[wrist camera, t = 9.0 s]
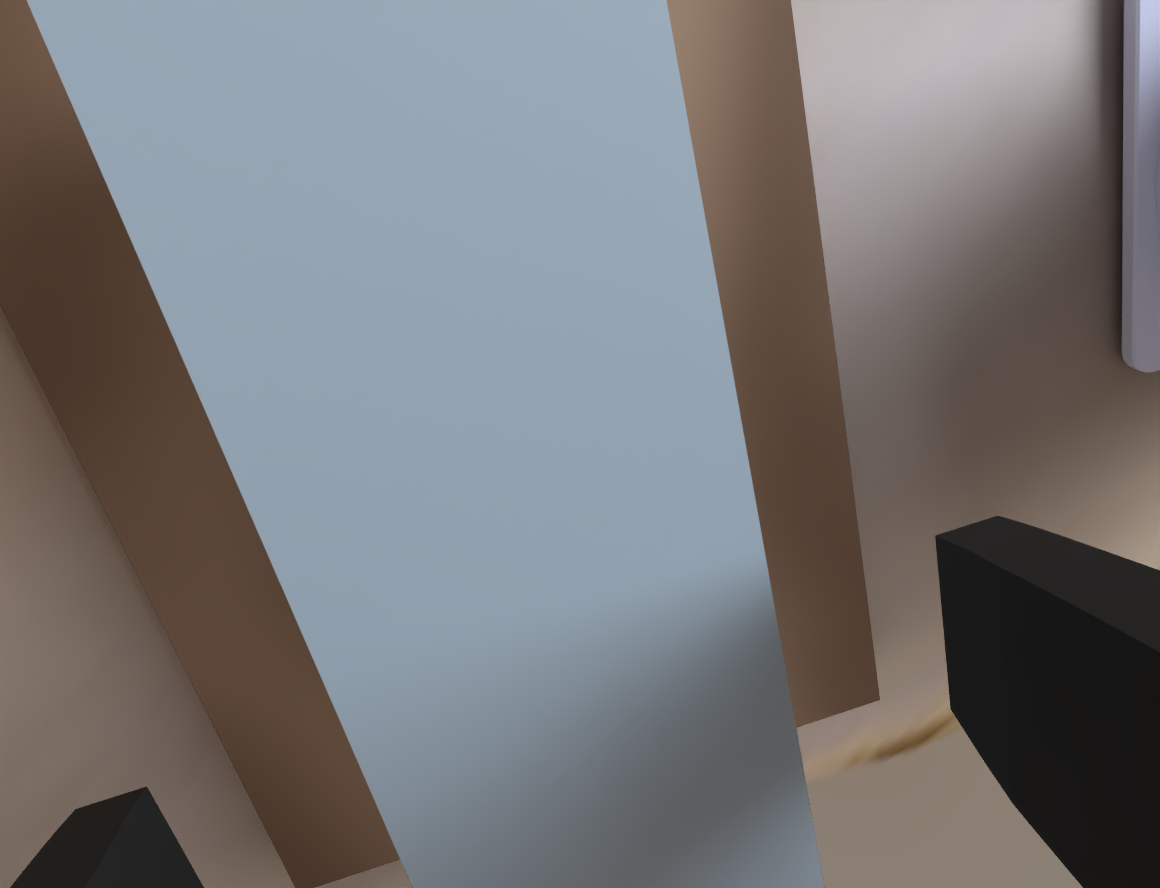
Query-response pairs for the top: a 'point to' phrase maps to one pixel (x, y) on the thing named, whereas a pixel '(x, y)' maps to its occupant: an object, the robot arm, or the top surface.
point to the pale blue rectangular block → (472, 411)
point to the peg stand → (214, 502)
